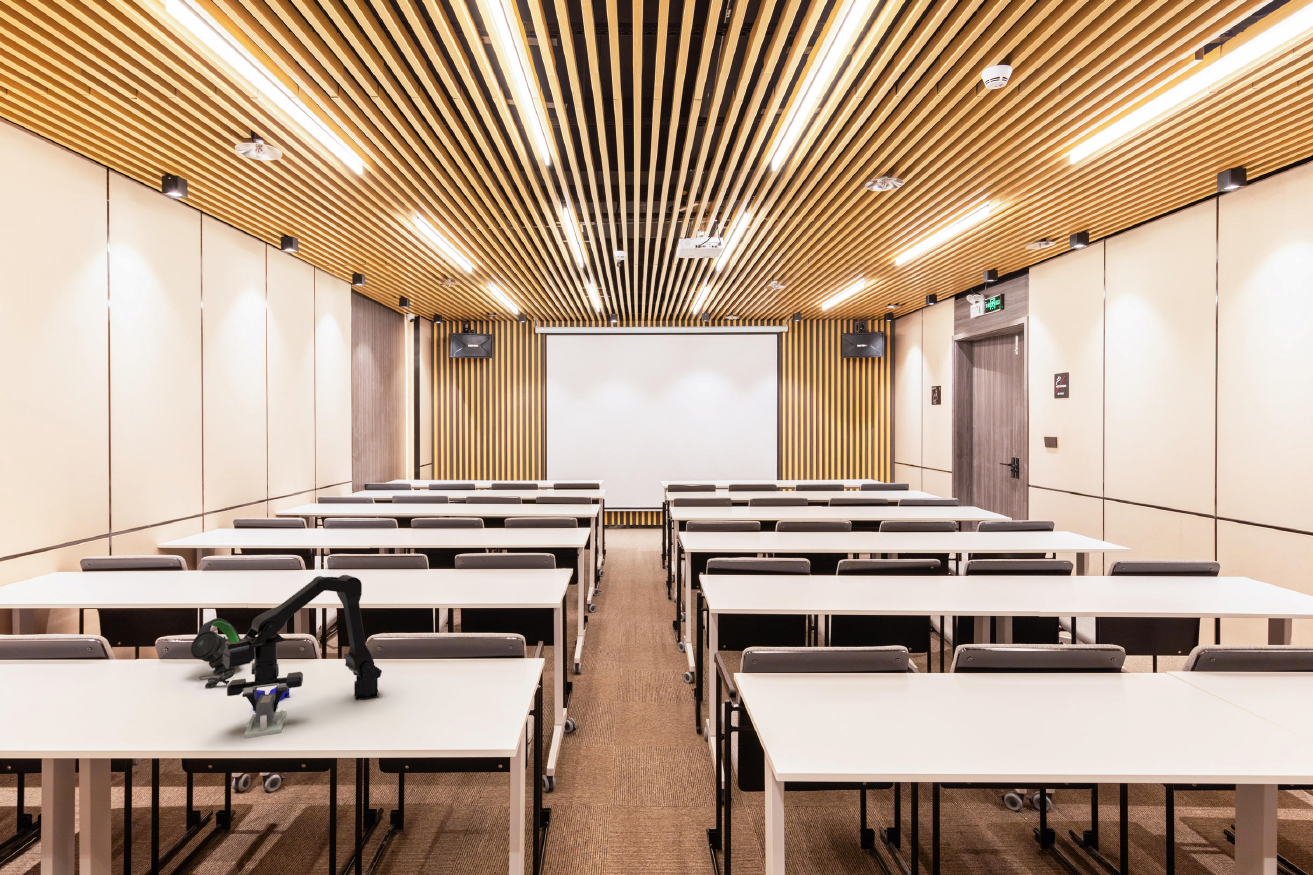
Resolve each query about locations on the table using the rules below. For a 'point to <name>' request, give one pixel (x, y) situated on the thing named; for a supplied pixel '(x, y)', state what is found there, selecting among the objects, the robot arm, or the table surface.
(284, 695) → the cable clip
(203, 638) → the headset
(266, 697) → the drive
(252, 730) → the pegged rail plate
